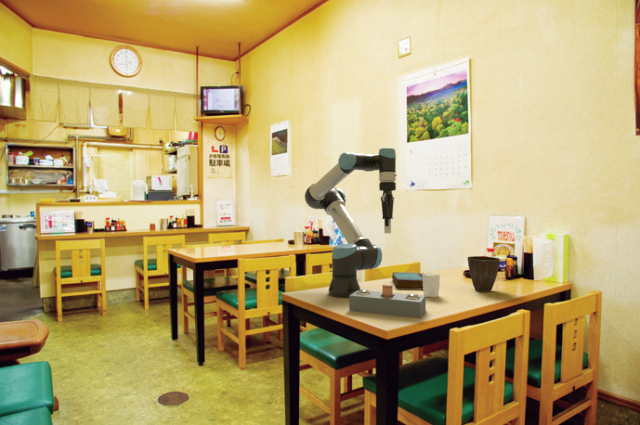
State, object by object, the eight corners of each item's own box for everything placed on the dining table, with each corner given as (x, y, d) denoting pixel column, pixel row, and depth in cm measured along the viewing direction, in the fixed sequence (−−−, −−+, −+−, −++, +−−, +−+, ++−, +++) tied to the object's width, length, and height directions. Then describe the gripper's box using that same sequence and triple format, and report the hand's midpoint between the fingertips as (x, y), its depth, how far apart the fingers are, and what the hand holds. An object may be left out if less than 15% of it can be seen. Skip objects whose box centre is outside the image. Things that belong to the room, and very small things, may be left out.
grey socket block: (349, 310, 160) (349, 295, 160) (358, 303, 171) (358, 289, 171) (420, 318, 149) (420, 302, 149) (425, 310, 160) (425, 295, 160)
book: (432, 290, 201) (432, 280, 201) (397, 289, 202) (397, 279, 202) (423, 281, 224) (423, 272, 224) (391, 281, 225) (391, 272, 225)
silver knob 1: (357, 304, 163) (357, 291, 163) (360, 302, 167) (360, 289, 167) (366, 305, 161) (366, 291, 161) (369, 303, 165) (369, 289, 165)
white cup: (440, 298, 182) (440, 276, 182) (422, 297, 183) (422, 275, 183) (439, 294, 189) (439, 273, 189) (421, 293, 191) (421, 272, 191)
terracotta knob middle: (381, 299, 159) (381, 286, 159) (383, 297, 163) (383, 284, 163) (391, 300, 157) (391, 286, 157) (393, 298, 161) (393, 285, 161)
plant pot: (504, 290, 198) (504, 257, 198) (493, 295, 187) (493, 261, 187) (474, 286, 208) (474, 255, 208) (462, 290, 197) (462, 258, 197)
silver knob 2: (406, 309, 155) (406, 295, 155) (408, 307, 159) (408, 293, 159) (416, 310, 153) (417, 296, 153) (418, 308, 157) (418, 294, 157)
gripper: (391, 180, 177) (391, 234, 177) (399, 182, 188) (399, 232, 188) (374, 181, 180) (375, 233, 180) (384, 183, 192) (384, 232, 192)
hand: (387, 233), depth 184 cm, fingers closed
